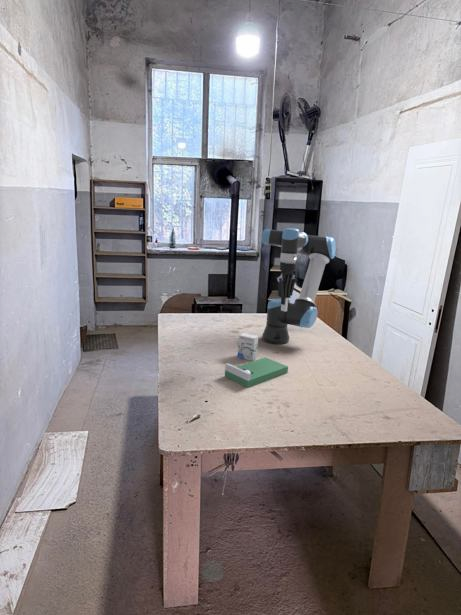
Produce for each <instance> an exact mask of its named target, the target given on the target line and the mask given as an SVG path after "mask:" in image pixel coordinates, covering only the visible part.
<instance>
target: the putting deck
mask: <svg viewBox="0 0 461 615" xmlns="http://www.w3.org/2000/svg"><path fill="white" fill-rule="evenodd" d="M224 365H225V367H224V368H225V369H224V378H227V379H229V380H232V381H233V382H235V383H238V384H240V385H242V386H243V387H246V388H250V387H253V386H255V385H258V384H261V383H263V382H266V381H268V380H272V379H275V378H277V377H280V376H283V375H285V374H288V373H289V372H288V371H289V366H288V365H285V364H284V363H280V362H278V361H276V360H274V359H270V358H268V357H262V358H258V359H255V360H253V361H249V362H246V363H243V364H240V365H237V366H235V365H232V364H230V363H229V362H227V363H225V364H224ZM244 370H249V371H250V372H251V373H248V372H246V371H244Z"/></svg>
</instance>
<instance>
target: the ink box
mask: <svg viewBox="0 0 461 615" xmlns="http://www.w3.org/2000/svg"><path fill="white" fill-rule="evenodd" d="M258 344H259V336H258V335H256V334H252V333H249V332H242V333H240V334H239V335H238V346H237V358H239V359H242V360H248V361H249V362H252V361H255V360H257V357H258V356H257V354H258Z"/></svg>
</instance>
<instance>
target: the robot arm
mask: <svg viewBox="0 0 461 615" xmlns="http://www.w3.org/2000/svg"><path fill="white" fill-rule="evenodd" d="M260 238H261V243H262V244H263V245H267V246H275V247H280V249H281V250H280V258H279V259H280V262H279V271H280V274H279V276H278V277H275V280H276V282H277V283H276V284H277V293H278V297H279V298H274V299H271V300H269V301H268V304H267V308H266V309H267V310H266V311H267V312H266V324H265V327H264V330H263V333H262V337H261V340H262V341H264V342H265V343H268V344H274V345H283V344H284V345H285V344H287V343H289V342H290V335H289V330H288V325H290V326H294V327H299V328H302V329H303V328H306V329H310V328H312V327H313V326H314V324H315V322H316V320H317V318H318V315H319V314H318V313H319V311H318V308H317V304H316V303H315V300H316V297H317V294H318V290H319V287H320V284H321V281H322V278H323V275H324V271H325V267H326V265H327V264H329V263H330V260H332V259H335V256H336V253H337V252H336V251H337V250H336V248H337V246H336V240H335V239H334V237H331V236H321V235H320V236H319V235H312V234H311V235H310V234H307V233H306V232H304V231H300V230H299V229H298V228H292V227H291V228H290V227H289V228H283V230H278V229H277V230H276V229H266V228H265V229H263V231H262V233H261V237H260ZM298 254H299V255H303V256H308V258H309V264H308V267H307V270H306V274H305V277H304V280H303V284H302V287H301V290H300V292H299V296H298V297H296V298H295V300H294V303H293V302H291V300H290V298H292V296H293V293H294V288H295V284H296V281H297V279H298V276H297V275H295V273H294V272H296V269H297V263H296V262H297V260H298V259H297V258H298Z"/></svg>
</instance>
